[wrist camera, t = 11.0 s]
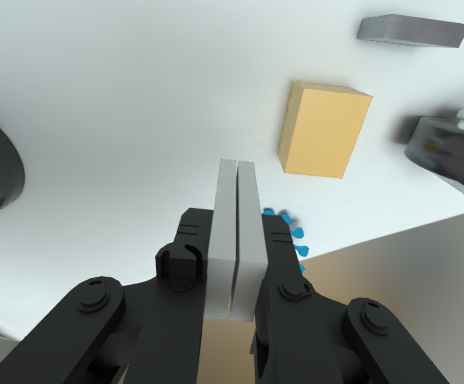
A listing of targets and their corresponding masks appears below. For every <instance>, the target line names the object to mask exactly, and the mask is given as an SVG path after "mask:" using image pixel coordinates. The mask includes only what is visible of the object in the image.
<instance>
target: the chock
mask: <svg viewBox="0 0 464 384" xmlns="http://www.w3.org/2000/svg"><path fill="white" fill-rule="evenodd" d="M372 97H373V96H370V95H368V94H365V93H363V92H360V91H358V90H355V89H353V88H349V87H340V86H332V85H323V84H315V83H306V82H298V81H293V83H292V88H291V93H290V97H289V102H288V107H287V111H286V116H285V121H284V126H283V130H282V135H281V140H280V144H279V149H278V154H277V155H278V157H279V160H280V163H281V165H282V168H283V171H284V173H292V174H302V175H312V176H322V177H332V178H341V179H342V178H343V175H344V172H345V170H346V167H347V164H348V162H349V159H350V156H351V154H352V151H353V148H354V146H355V143H356V140H357V137H358V135H359V132H360V129H361V127H362V124H363V121H364V119H365V116H366V113H367V111H368V108H369V105H370V103H371V100H372Z"/></svg>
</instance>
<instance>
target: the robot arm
mask: <svg viewBox="0 0 464 384" xmlns="http://www.w3.org/2000/svg"><path fill="white" fill-rule="evenodd" d="M23 184H24V172H23V167H22V164H21V161H20V158H19V156H18V154H17V152H16V150H15V149H14V147H13V146H12V144H11V143H10V141H9V140H8V139H7V137H6V136H5V135H4V134H3V133H2V131H1V130H0V210H1V209H3V208H4V207H5V206H7V205H8V204H10V203H11V202H12V201H14V200H15V199H16V198H17V197H18V196H19V194H20V193H21V191H22V188H23ZM155 259H156V275H157V276H156V277H154V278H152V279H150V280H148V281H145V282H141V283H137V284H132V285H126V286H122V285H121V284H120V282H119V281H117V280H116V279H114V278H112V277H104V276H100V277H95V278H90V279H88V280H86V281H84V282H81V283H79V284H78V285H77V286H76V287H74V288H73V289H72V290H71V291H70V292H69V293H68V294H67V295H66V296H65V297H64V298H63V299H62V300H61V301H60V302H59V303H58V304H57V305H56V306H55V307H54V308H53V309H52V310H51V311H50V312H49V313H48V314H47V315H46V316H45V317H44V318H43V319H42V320H41V321H40V322H39V323H38V324H37V326H36V327H35V328H34V329H33V330H32V331H31V332H30V333H29V334H28V335H27V336H26V337H25V338H24V339H23V340H22V341H21V342H20V343H19V344H18V345H17V346H16V347H15V348H14V349H13V350H12V351H11V352H10V353H9V354H8V356H6V357H5V359H4V360H3V361H2V362H1V363H0V384H118V382H119V380H120V379H121V377H122V375H123V373H124V372H125V370H126V368H127V366H128V364H129V366H128V369H127V372H126V375H125V378H124V382H123V384H196V383H197V374H198V365H199V356H200V347H201V338H202V326H203V318H205V319H218V320H226V316H227V310H228V304H229V298H230V321H243V322H253V319H254V315H255V322H256V329H255V333H254V337H253V340H252V344H251V348H250V354H253V353H254V364H255V384H450V383H449V382H448V381H447V380H446V378H445V377H444V376H443V375H442V373H441V372H440V371H439V370H438V368H437V367H436V366H435V365H434V363H433V362H432V361H431V360H430V358H429V357H428V356H427V355H426V353H425V352H424V351H423V350H422V349H421V347H420V346H419V345H418V344H417V342H416V341H415V340H414V339H413V337H412V336H411V335H410V334H409V332H408V331H407V330H406V329H405V327H404V326H403V325H402V324H401V322H400V321H399V320H398V319H397V317H396V316H395V315H394V314H393V313H392V312H391V311H390V310H389V309H388V308H386V307H385V306H383V305H382V304H380V303H379V302H377V301H374V300H371V299H369V298H356V299H353V300H351V301H350V303H349V305H345V304H342V303H340V302H337V301H334V300H331V299H329V298H326V297H324V296H322V295H320V294H319V293H317V292H316V291H315V290H314V288H313V286H312V284H311V283H310V282H309V281H308V280H307V279H306V278H305V277H303V275H302V272H301V269H300V265H299V261H298V258H297V254H296V251H295V247H294V244H293V240H292V237H291V233H290V229H289V226H288V224H287V223H286V221H285V220H284V219H283V218H282V217H281V216H277V215H266V214H261V210H260V203H259V196H258V189H257V182H256V175H255V168H254V163H253V162H244V161H238V169H237V176H236V161H235V160H225V159H221V161H220V168H219V176H218V183H217V191H216V198H215V206H214V210H207V209H197V208H189V209H188V210H187V211H186V212H185V213H184V214H182V216H181V220H180V223H179V226H178V229H177V234H176V236H175V239H174V242H172V243H169V244H167V245H165V246H164V247H163V248H161V249H160V250H159V252H158V253H157V255H156V256H155Z"/></svg>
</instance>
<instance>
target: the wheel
mask: <svg viewBox="0 0 464 384" xmlns="http://www.w3.org/2000/svg"><path fill="white" fill-rule="evenodd" d="M457 117H460V118H463V119H464V110H459V112H458V114H457ZM404 154H405V155H406V157H407V158H408V159H410V160H411V161H412V162H414V163H415V164H417V165H419V166H421V167H423V168H425V169H427V170H429V171H430V172H432V173H433V174H435V175H436V176H438V177H439V178H441V179H442V180H444V181H445V182H447V183H448V184H450V185H451V186H453V187H454V188H456V189H457V190H459V191H460V192H462V193H463V194H464V120H457V119H451V118H443V117H422V118H420V121H419V123H418V125H417V127H416V129H415V131H414V133H413V135H412V137H411V139H410V141H409V143H408V145H407V147H406V149H405V151H404Z"/></svg>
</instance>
